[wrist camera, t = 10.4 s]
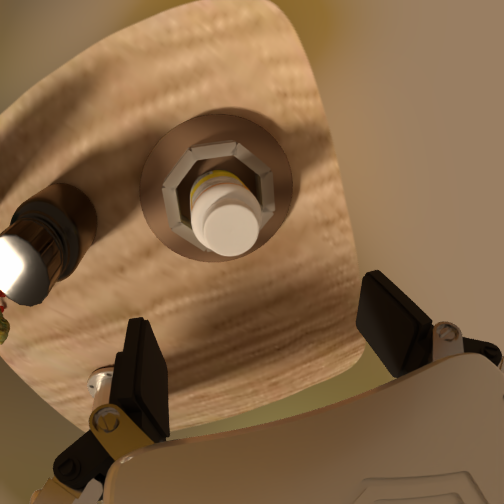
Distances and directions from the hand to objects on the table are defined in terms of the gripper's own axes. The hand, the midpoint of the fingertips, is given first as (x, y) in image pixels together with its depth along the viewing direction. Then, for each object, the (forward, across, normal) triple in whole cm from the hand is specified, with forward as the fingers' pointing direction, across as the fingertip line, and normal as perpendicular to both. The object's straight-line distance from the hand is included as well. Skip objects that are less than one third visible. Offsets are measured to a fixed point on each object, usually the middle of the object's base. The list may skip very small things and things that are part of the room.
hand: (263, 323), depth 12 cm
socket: (+21, 0, 0) cm, 21 cm away
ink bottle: (+22, +18, 0) cm, 28 cm away
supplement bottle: (+20, 0, 0) cm, 20 cm away
